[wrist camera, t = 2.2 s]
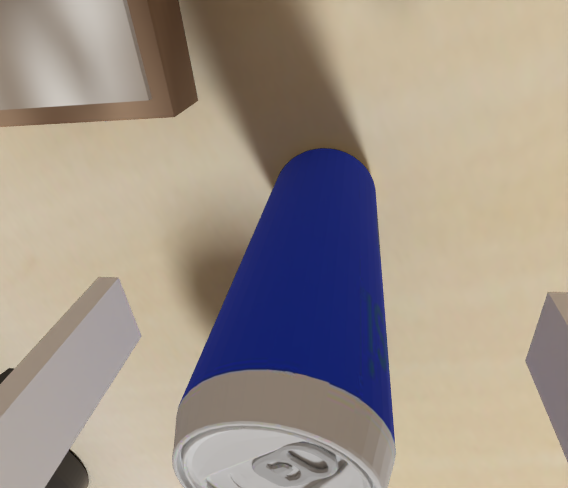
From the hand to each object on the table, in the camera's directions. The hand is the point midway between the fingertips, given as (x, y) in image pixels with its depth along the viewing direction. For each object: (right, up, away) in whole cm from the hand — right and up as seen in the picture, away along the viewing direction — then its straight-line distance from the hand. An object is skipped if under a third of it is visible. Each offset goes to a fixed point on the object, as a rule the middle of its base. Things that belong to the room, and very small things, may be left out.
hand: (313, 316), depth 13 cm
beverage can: (+1, +5, +8) cm, 10 cm away
